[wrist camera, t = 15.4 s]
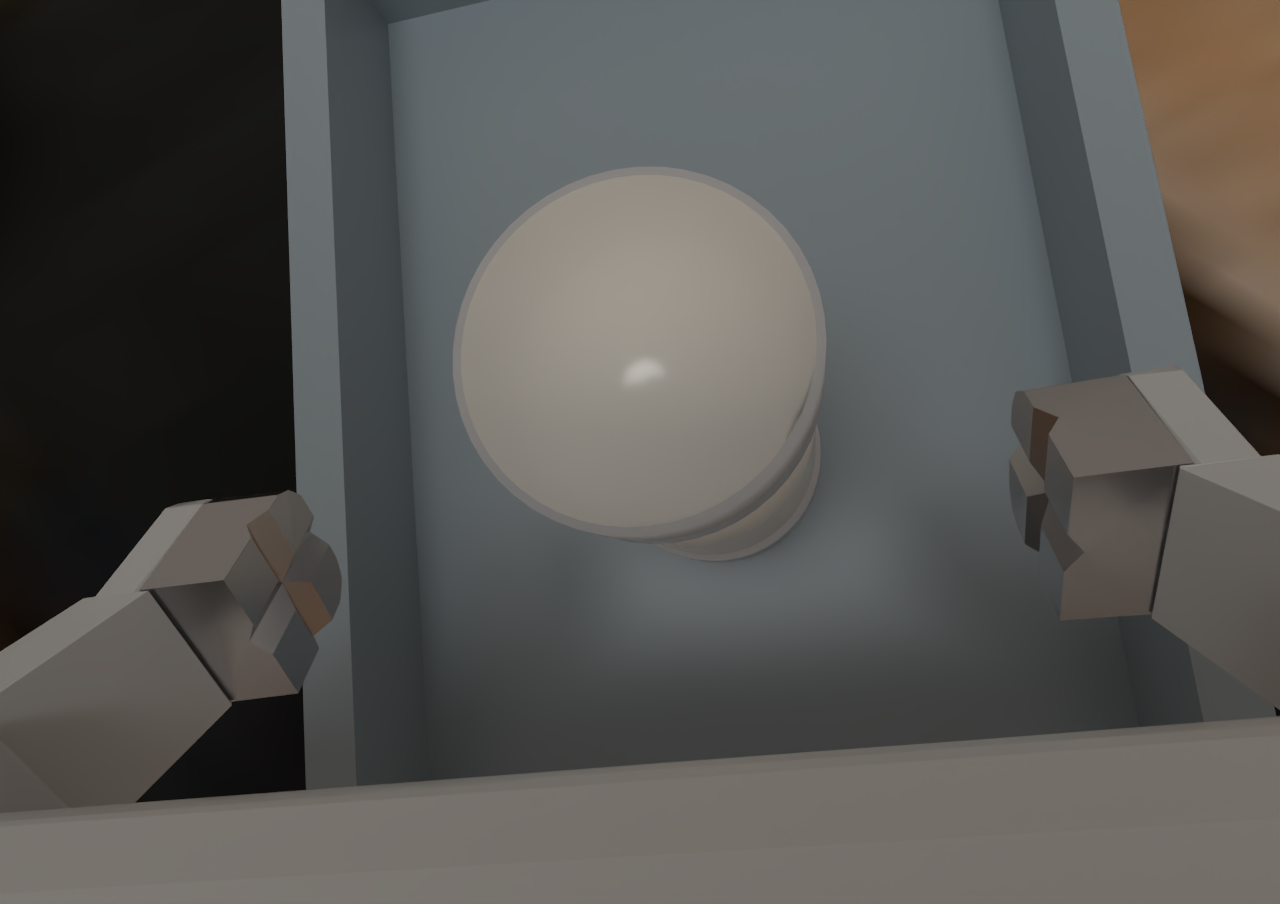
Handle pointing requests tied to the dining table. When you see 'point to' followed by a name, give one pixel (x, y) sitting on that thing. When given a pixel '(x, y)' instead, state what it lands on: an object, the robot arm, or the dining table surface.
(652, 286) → the white rounded cylinder
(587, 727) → the tray
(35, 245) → the dining table surface
